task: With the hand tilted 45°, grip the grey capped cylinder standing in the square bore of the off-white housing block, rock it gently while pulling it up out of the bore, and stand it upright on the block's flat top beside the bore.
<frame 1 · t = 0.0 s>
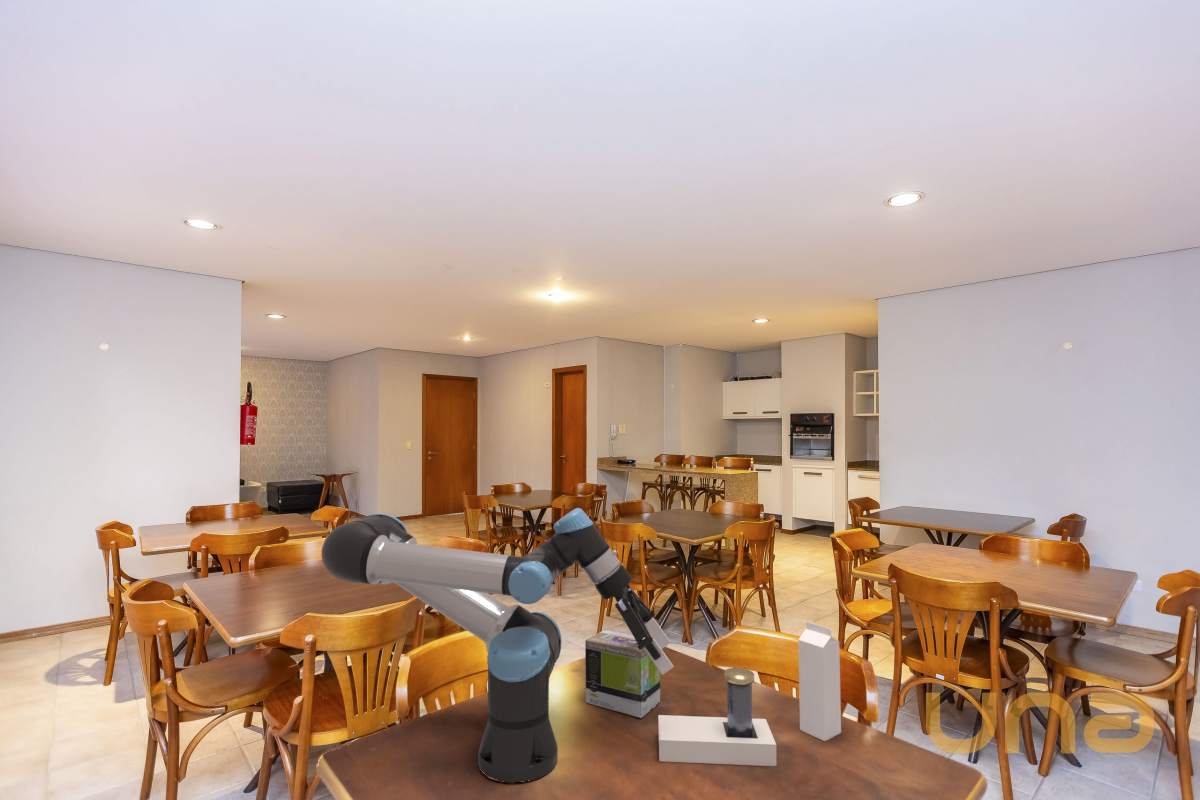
hand: (666, 657, 126), 15 cm above the table, tool tilted 35°, fingers open, 13 cm apart
tea box: (622, 703, 139), on the table
grey capped cylinder: (740, 750, 118), resting in housing block
housing block: (714, 749, 119), on the table
milk: (820, 732, 126), on the table
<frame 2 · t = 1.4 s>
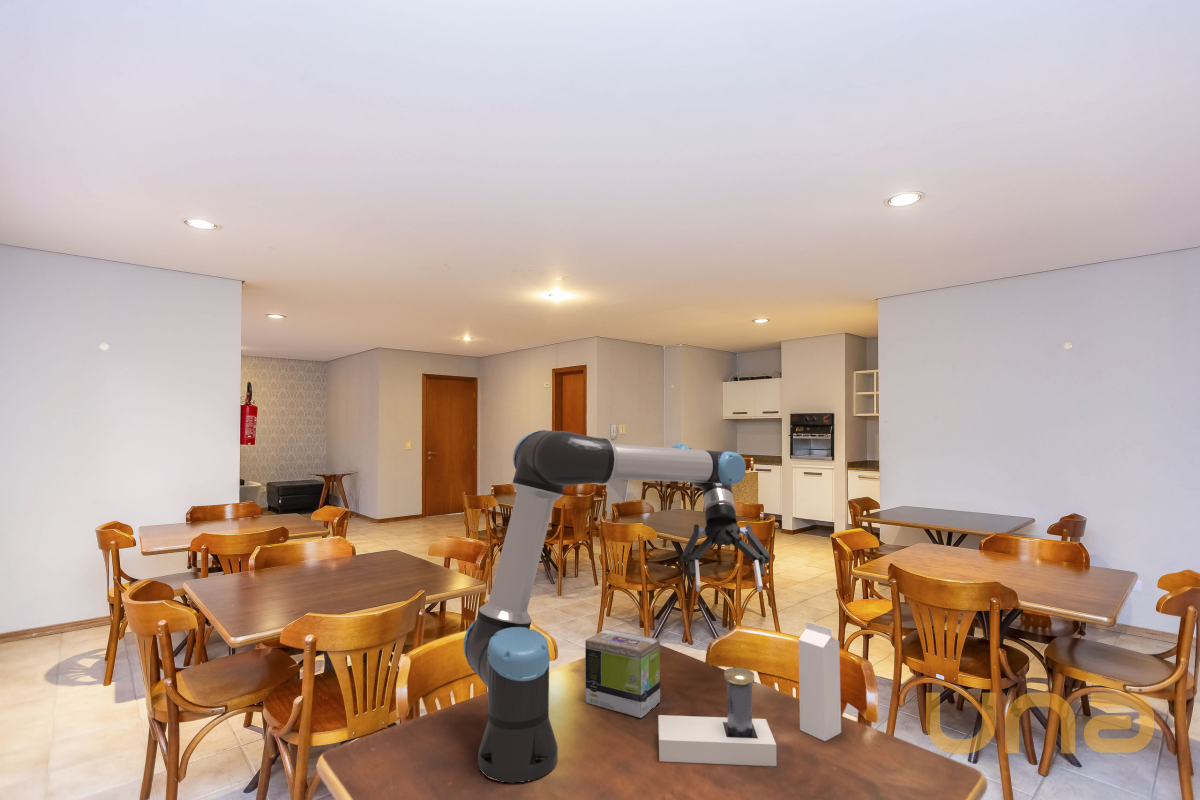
hand: (729, 588, 134), 28 cm above the table, tool tilted 45°, fingers open, 13 cm apart
nothing on the table moved.
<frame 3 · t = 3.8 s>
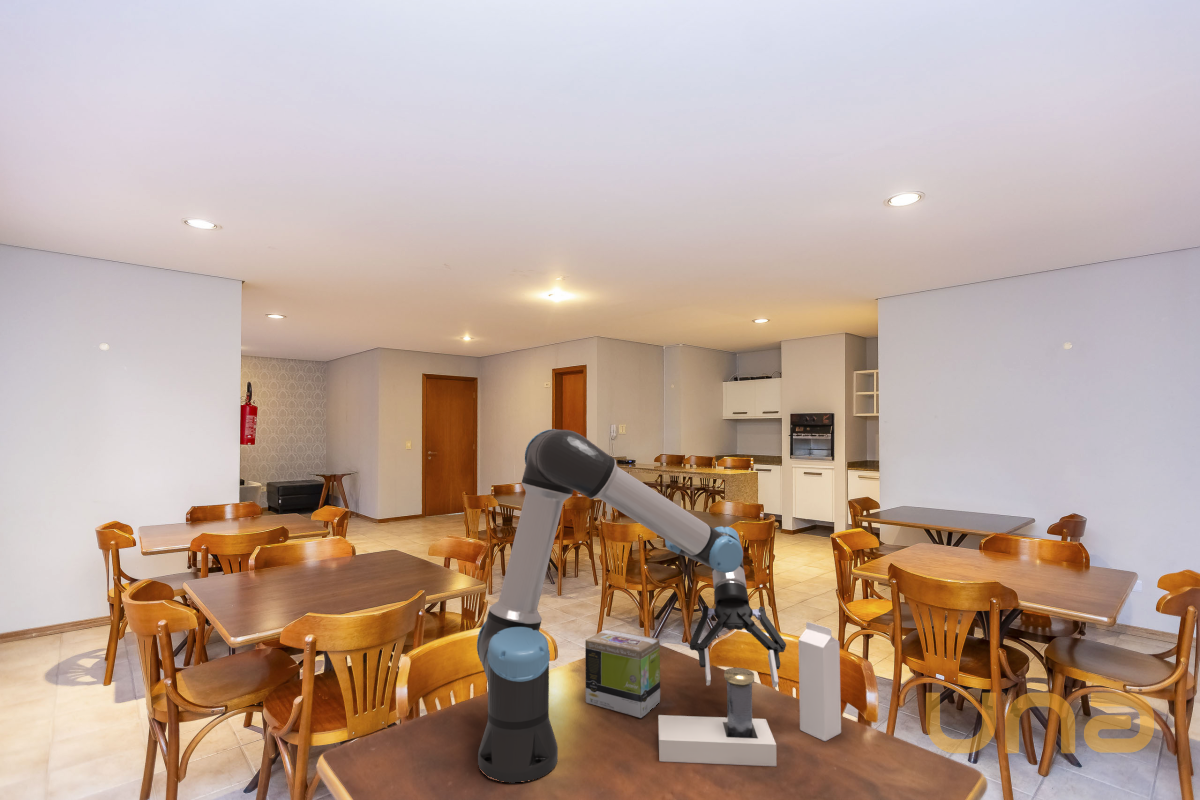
hand: (742, 683, 123), 11 cm above the table, tool tilted 45°, fingers open, 13 cm apart
nothing on the table moved.
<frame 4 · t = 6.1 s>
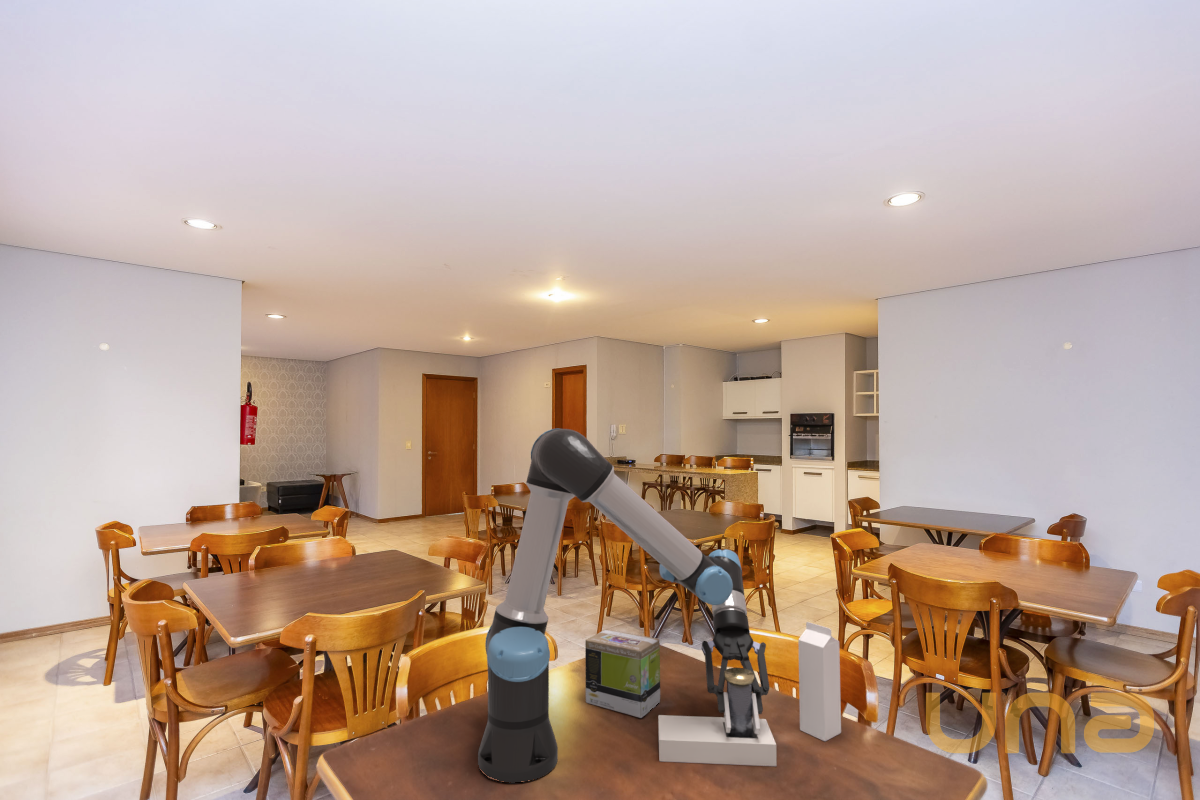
hand: (742, 730, 115), 6 cm above the table, tool tilted 45°, fingers closed on grey capped cylinder, 5 cm apart
grey capped cylinder: (740, 750, 118), resting in housing block, touching gripper
everything else where it was.
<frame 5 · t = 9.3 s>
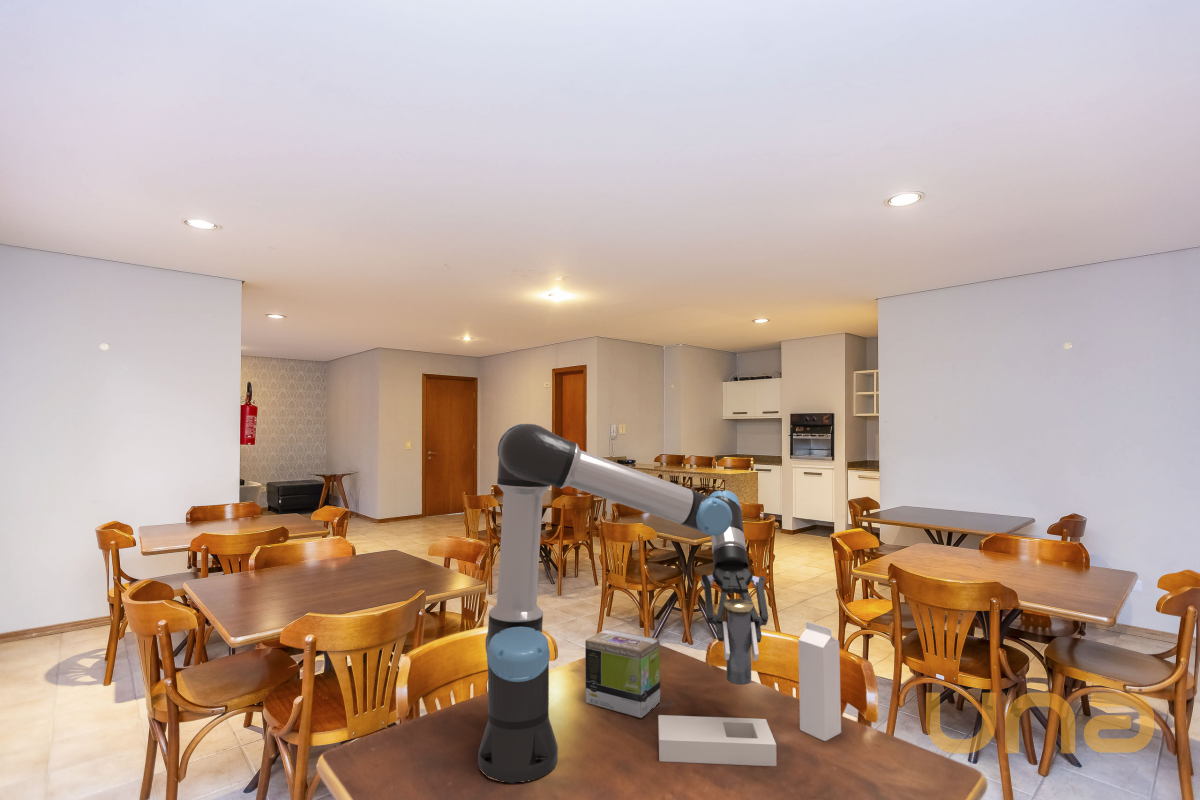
hand: (741, 656, 115), 20 cm above the table, tool tilted 45°, fingers closed on grey capped cylinder, 5 cm apart
grey capped cylinder: (738, 679, 119), point 14 cm above the table, touching gripper
everything else where it was.
when the fingers open (11 cm above the table, at t = 12.8 s): grey capped cylinder drops 1 cm, resting on housing block.
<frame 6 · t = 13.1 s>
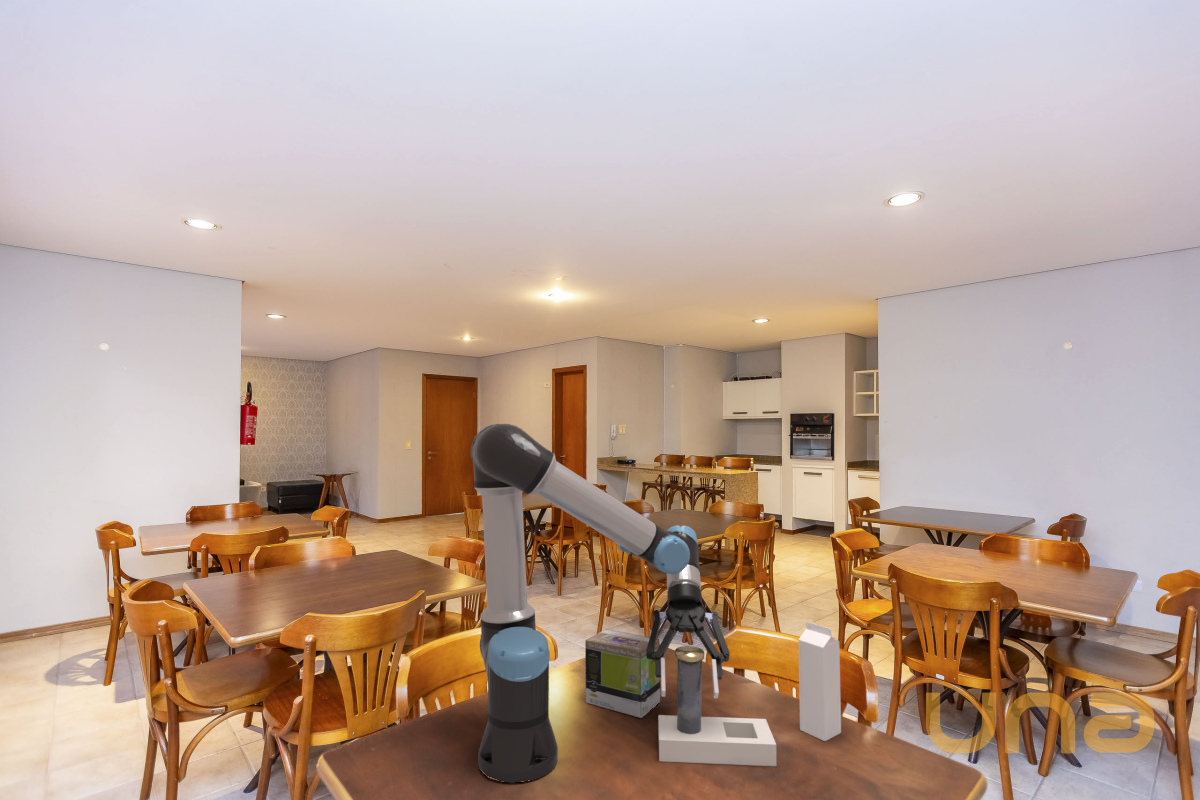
hand: (689, 694, 116), 12 cm above the table, tool tilted 45°, fingers open, 9 cm apart
grey capped cylinder: (689, 727, 119), point 4 cm above the table, touching housing block
everything else where it was.
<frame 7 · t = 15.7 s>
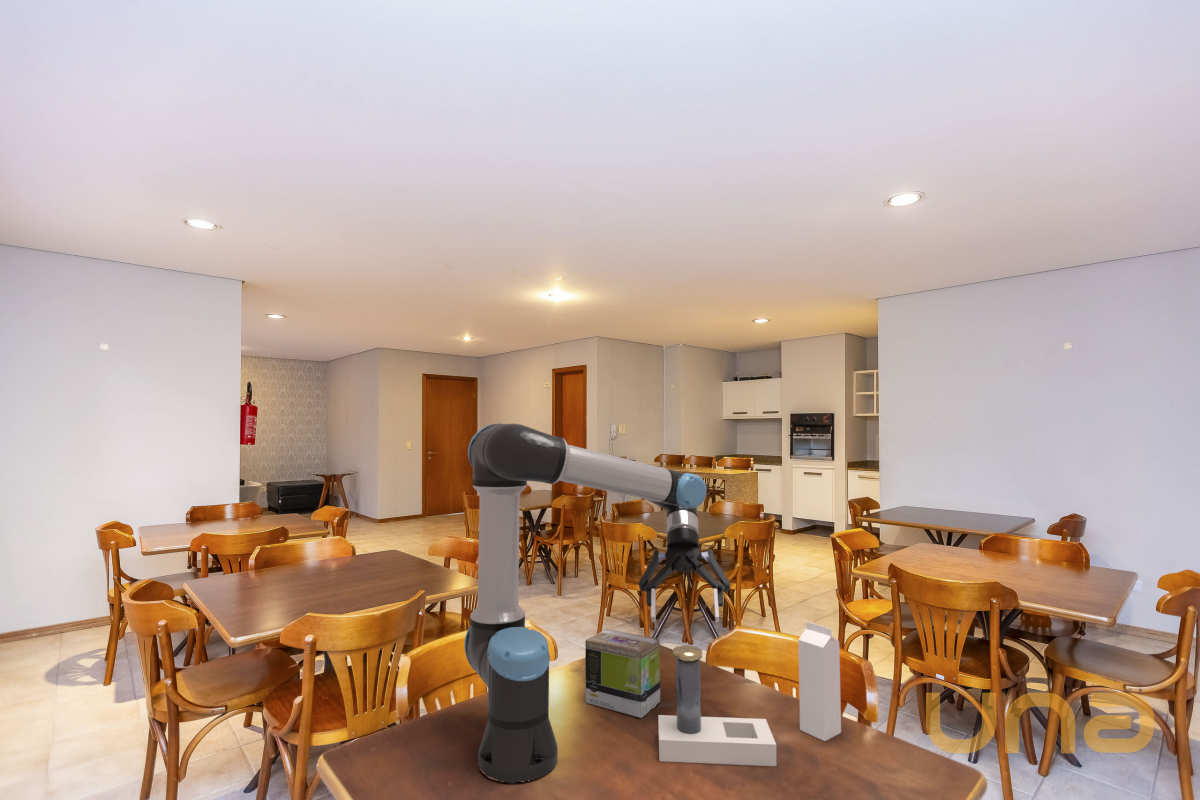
hand: (685, 619, 128), 23 cm above the table, tool tilted 45°, fingers open, 13 cm apart
nothing on the table moved.
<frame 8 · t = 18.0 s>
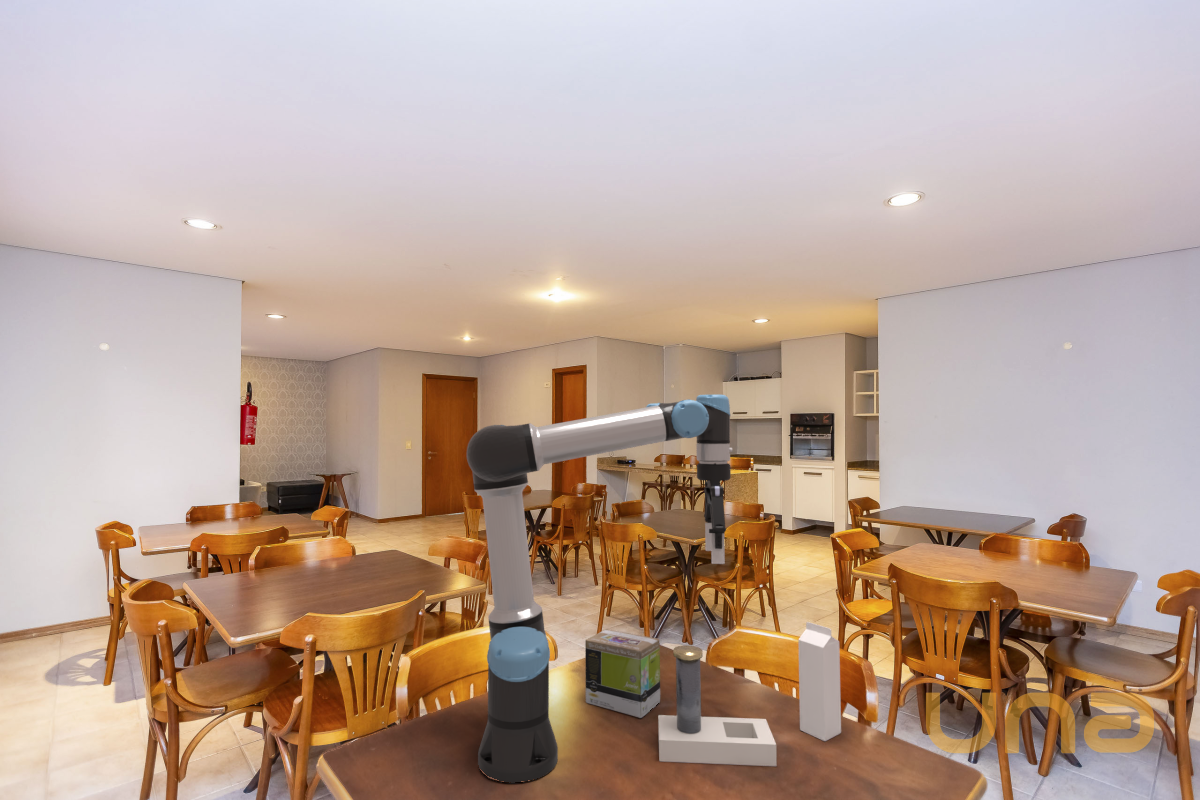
hand: (714, 556, 135), 35 cm above the table, tool pointing down, fingers open, 13 cm apart
nothing on the table moved.
at the end: grey capped cylinder inside the target area on the housing block (0.0 cm from its centre), point 4.1 cm above the housing block's base; grey capped cylinder tilted 2°; the gripper is holding nothing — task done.
